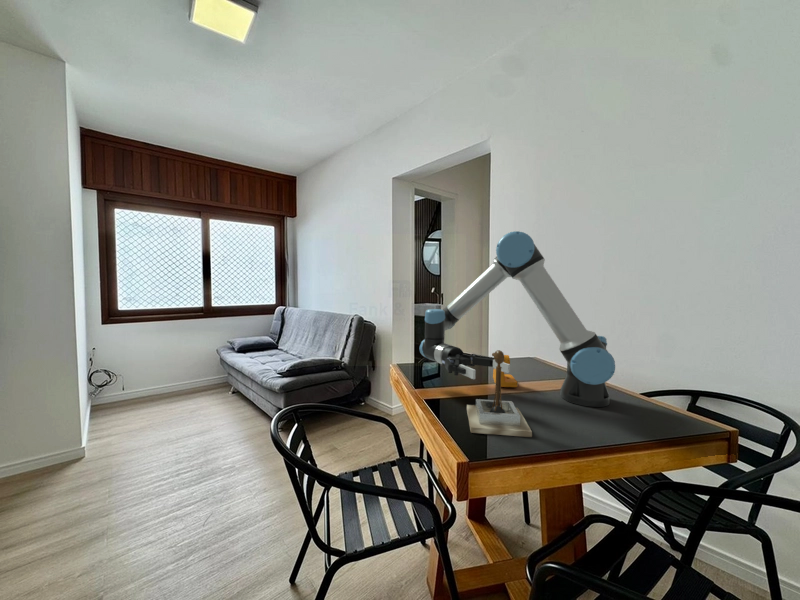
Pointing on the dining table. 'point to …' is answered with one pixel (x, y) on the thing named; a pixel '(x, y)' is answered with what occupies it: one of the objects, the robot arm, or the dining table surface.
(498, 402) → the wooden tabletop sculpture
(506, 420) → the collar
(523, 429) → the stand
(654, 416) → the dining table surface
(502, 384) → the bracket
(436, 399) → the dining table surface
